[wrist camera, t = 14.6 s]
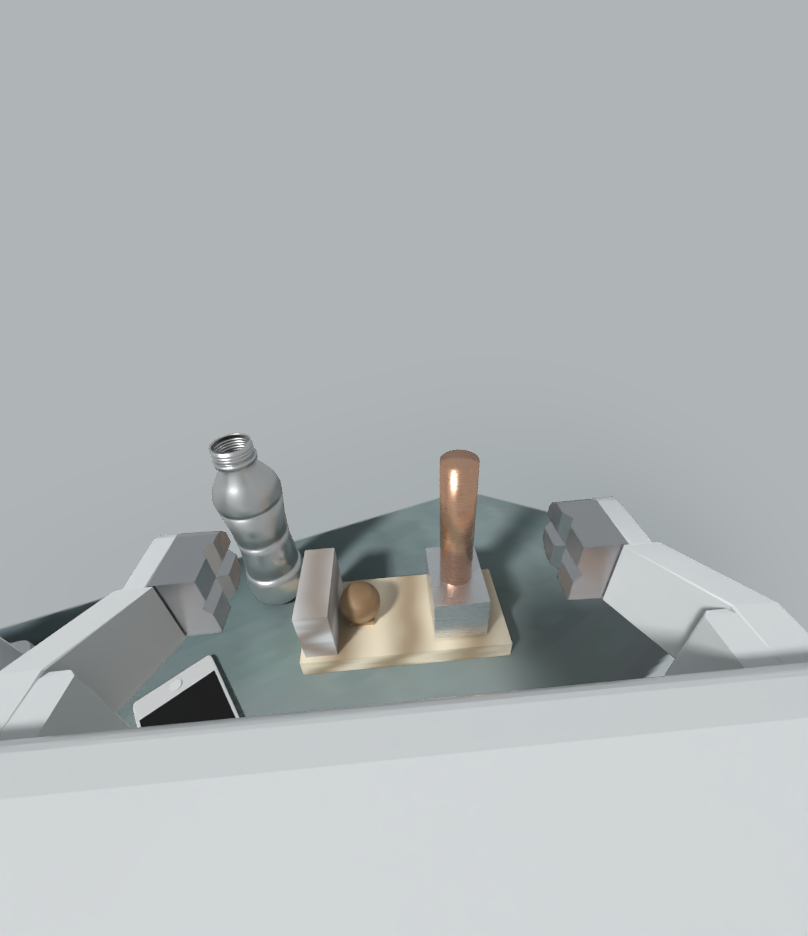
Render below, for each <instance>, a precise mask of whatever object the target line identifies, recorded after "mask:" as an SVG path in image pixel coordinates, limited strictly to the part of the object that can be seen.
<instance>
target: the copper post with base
mask: <svg viewBox="0 0 808 936" xmlns="http://www.w3.org/2000/svg"><path fill="white" fill-rule="evenodd" d="M479 462H480V461H479V458H478V457H477V455H475V454H474V453H472V452H470V451H466V450H452V451H449V452H446V453H445V454H443V455H442V456H441V458H440V547H433V548H425V550H426V580H427V587H428V594H429V601H430V608H431V615H432V622H433V629H434V636H435V639H439V638H450V637H460V636H471V635H482V634H487V627H488V619H489V611H490V603H491V601H490V598H489V594H488V591H487V588H486V584H485V581H484V578H483V574H482V571H481V567H480V564H479V561H478V557H477V554H476V550H475V547H474V532H475V518H476V504H477V489H478V476H479Z"/></svg>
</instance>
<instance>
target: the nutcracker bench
mask: <svg viewBox="0 0 808 936" xmlns="http://www.w3.org/2000/svg"><path fill="white" fill-rule="evenodd" d="M481 571H482V574H483V578H484V581H485V584H486V588H487V591H488V594H489V598H490V601H491V603H490V611H489V619H488V627H487V634H482V635H471V636H460V637H450V638H439V639H435V636H434V629H433V622H432V615H431V608H430V601H429V594H428V587H427V580H426V574H424V575H413V576H402V577H391V578H380V579H368V580H357V581H365V582H368V583H370V584H372V585H373V586H374V587H375V588H376V589H377V591H378V593H379V595H380V608H379V611H378V613H377V614H376V616H375V617H374V618H375V625H365V626H354V627H351V626H350V621H349V620H348V619H347V618H346V617H345V616H344V615H343V613H342V611H341V608H340V598H341V595H342V593H343V591H344V590H345V588H346V587H347V586H349V585H350V584H352V583H354V582H357V581H346V582H342V579H341V575H340V570H339V566H338V561H337V557H336V552H335V548H325V549H314V550H305V553H304V559H303V564H302V569H301V575H300V580H299V585H298V590H297V596H296V601H295V606H294V611H293V617H292V622H293V625H294V627H295V630H296V633H297V635H298V638H299V641H300V644H301V646H302V652H301V658H300V666H301V668H302V671H303V673H304V674H315V673H325V672H336V671H346V670H357V669H367V668H378V667H388V666H399V665H409V664H420V663H430V662H441V661H451V660H462V659H472V658H482V657H493V656H503V655H510V652H511V647H512V641H511V638H510V635H509V632H508V628H507V625H506V622H505V619H504V616H503V613H502V609H501V606H500V603H499V600H498V597H497V594H496V590H495V587H494V584H493V581H492V578H491V575H490V571H489V569H481Z"/></svg>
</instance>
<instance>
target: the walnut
mask: <svg viewBox="0 0 808 936" xmlns="http://www.w3.org/2000/svg"><path fill="white" fill-rule="evenodd" d="M340 608H341V611H342V613H343V615H344V616H345V617H346V618H347V619H348V620H349V621H350V626H351V627H354V626H365V625H375V618H374V617H375V616H376V614H377V613H378V611H379V608H380V595H379V593H378V591H377V589H376V588H375V587H374V586H373V585H372V584H370V583H368V582H365V581H357V582H354V583H352V584H350V585H349V586H347V587H346V588H345V590H344V591H343V593H342V595H341V598H340Z"/></svg>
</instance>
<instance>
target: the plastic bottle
mask: <svg viewBox="0 0 808 936" xmlns="http://www.w3.org/2000/svg"><path fill="white" fill-rule="evenodd" d="M209 451H210V454H211V456H212V459H213V464H214V467H215V468H216V469H217V470H218V473H217V476H216V478H215V481H214V484H213V487H212V501H213V504H214V506H215V508H216V509H217V511H218V513H219V514H220V516H221V517H222V519H223V520H224V521H225V523H226V525H227V526H228V528H229V529H230V531H231V533H232V534H233V536H234V539H235V540H236V542H237V544H238V546H239V548H240V550H241V554H242V557H243V560H244V564H245V567H246V577H247V581H248V585H249V588H250V590H251V591H252V593H253V594H254V595H255V597H256V598H257V599H258V600H259V601H261V602H263V603H265V604H270V605H281V604H284V603H287V602H289V601H291V600H293V599H294V598H295V597H296V596H297V590H298V585H299V580H300V575H301V569H302V564H303V558H302V556H301V554H300V552H299V551H298V549H297V548H296V546H295V543H294V541H293V539H292V536H291V534H290V532H289V528H288V524H287V520H286V515H285V512H284V503H283V496H282V487H281V483H280V480H279V478H278V476H277V475H276V473H275V472H274V471H273V470H272V469H271V468H270V467H268V466H267V465H266V464H264V463H263V462H261V461H259V460H257V452H256V449H255V448H254V446H253V444H252V440H251V438H250V437H249V436H248V435H246V434H243V433H234V434H228V435H225V436H222V437H220V438H218V439H216V440H214V441H213V442H212V443H211V444H210V446H209Z"/></svg>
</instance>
